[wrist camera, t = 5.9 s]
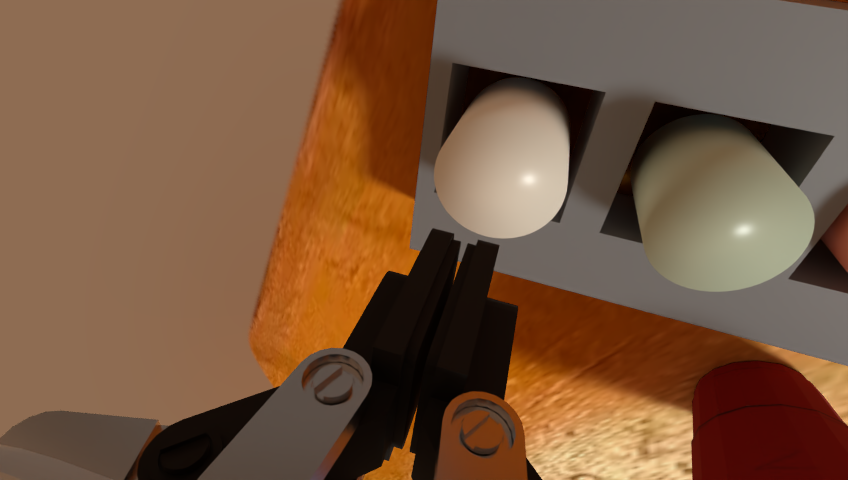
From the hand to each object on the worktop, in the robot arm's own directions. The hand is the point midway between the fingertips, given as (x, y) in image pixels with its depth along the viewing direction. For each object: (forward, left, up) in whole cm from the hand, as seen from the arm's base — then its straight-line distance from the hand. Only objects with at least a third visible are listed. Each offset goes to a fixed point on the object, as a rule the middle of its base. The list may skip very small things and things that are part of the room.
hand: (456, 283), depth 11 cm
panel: (0, +7, -12) cm, 14 cm away
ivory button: (0, 0, -10) cm, 10 cm away
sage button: (0, +7, -10) cm, 12 cm away
